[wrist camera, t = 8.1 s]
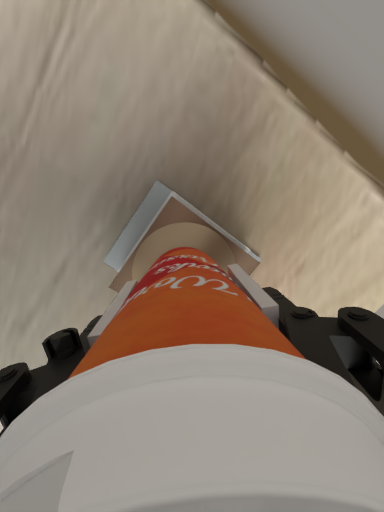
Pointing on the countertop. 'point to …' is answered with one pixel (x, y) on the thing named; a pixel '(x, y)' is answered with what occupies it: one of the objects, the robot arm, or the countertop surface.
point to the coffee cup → (194, 414)
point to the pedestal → (181, 244)
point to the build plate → (144, 221)
